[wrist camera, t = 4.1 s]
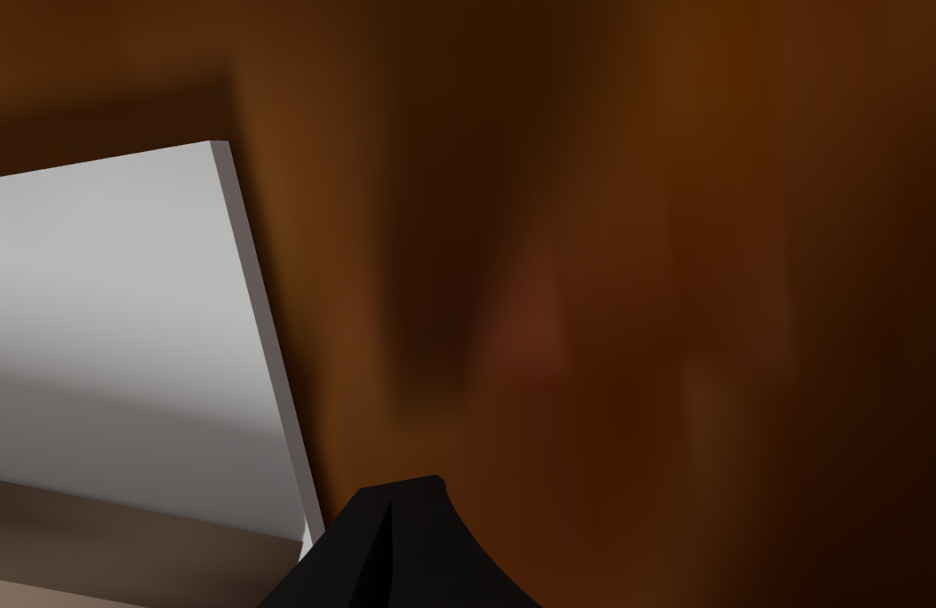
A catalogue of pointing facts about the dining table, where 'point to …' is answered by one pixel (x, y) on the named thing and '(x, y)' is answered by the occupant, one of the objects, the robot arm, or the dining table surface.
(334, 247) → the dining table surface
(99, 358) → the wall board
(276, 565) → the frame
